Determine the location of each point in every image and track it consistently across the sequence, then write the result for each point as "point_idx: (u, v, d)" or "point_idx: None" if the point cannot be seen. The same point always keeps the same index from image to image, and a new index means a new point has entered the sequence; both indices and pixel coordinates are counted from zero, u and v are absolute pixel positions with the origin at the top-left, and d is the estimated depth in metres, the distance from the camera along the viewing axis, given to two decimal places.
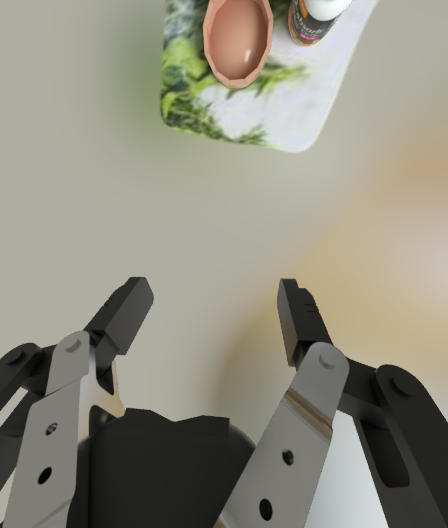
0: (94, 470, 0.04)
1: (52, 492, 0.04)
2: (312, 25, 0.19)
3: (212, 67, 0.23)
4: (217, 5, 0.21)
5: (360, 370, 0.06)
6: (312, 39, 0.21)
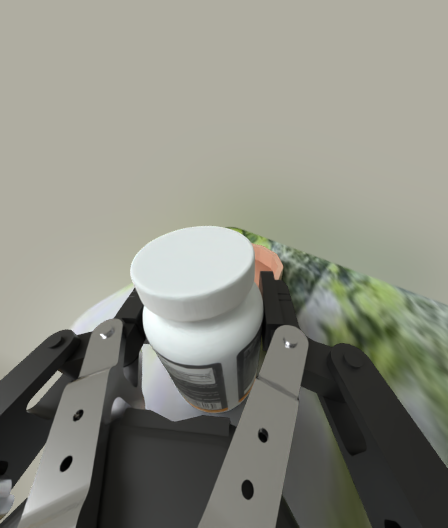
0: (109, 470, 0.04)
1: (69, 485, 0.04)
2: None
3: None
4: (272, 264, 0.19)
5: (320, 349, 0.07)
6: None
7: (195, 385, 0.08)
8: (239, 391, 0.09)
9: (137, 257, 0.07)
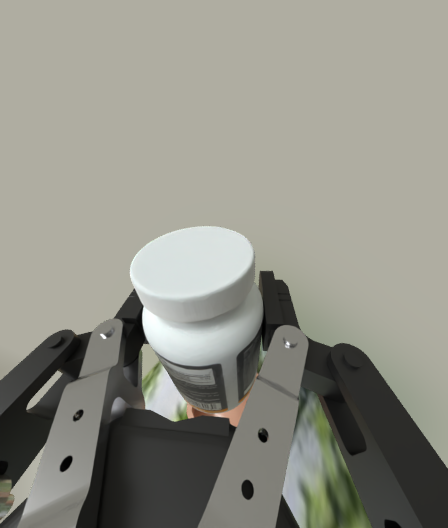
0: (109, 470, 0.04)
1: (69, 484, 0.04)
2: None
3: None
4: None
5: (320, 349, 0.07)
6: None
7: (195, 386, 0.08)
8: (239, 392, 0.09)
9: (137, 257, 0.07)
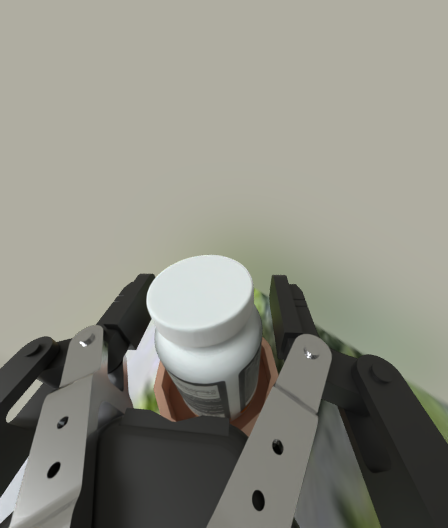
0: (100, 469, 0.04)
1: (59, 489, 0.04)
2: None
3: None
4: (264, 358, 0.14)
5: (343, 360, 0.06)
6: None
7: (201, 399, 0.09)
8: (241, 403, 0.10)
9: (151, 288, 0.08)
